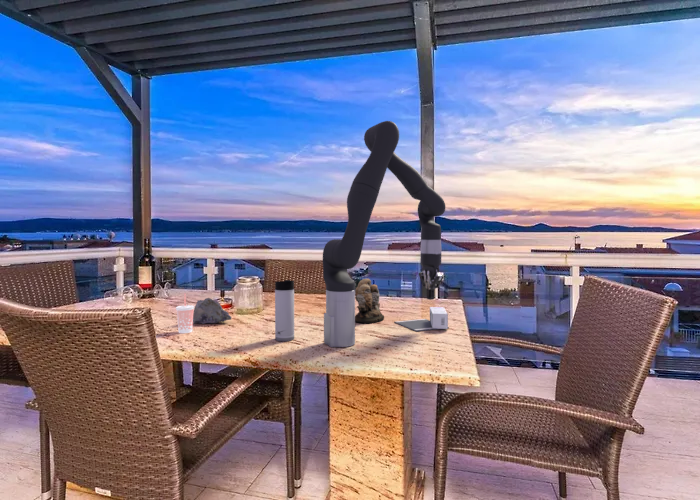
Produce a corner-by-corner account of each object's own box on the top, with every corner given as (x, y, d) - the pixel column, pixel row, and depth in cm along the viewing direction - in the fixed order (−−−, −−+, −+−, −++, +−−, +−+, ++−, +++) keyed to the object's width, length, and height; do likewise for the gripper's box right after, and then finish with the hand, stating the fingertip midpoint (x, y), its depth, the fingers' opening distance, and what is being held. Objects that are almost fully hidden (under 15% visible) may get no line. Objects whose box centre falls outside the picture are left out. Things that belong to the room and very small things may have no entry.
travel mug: (278, 342, 132) (278, 280, 131) (272, 338, 138) (272, 278, 137) (297, 340, 135) (297, 279, 134) (290, 336, 141) (290, 277, 140)
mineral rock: (233, 323, 160) (232, 297, 160) (209, 328, 152) (209, 301, 151) (212, 319, 168) (212, 294, 168) (189, 323, 159) (188, 298, 159)
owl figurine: (375, 326, 157) (375, 281, 156) (346, 323, 161) (346, 280, 160) (388, 316, 174) (388, 276, 173) (362, 314, 178) (361, 275, 177)
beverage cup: (197, 331, 147) (197, 292, 146) (180, 334, 142) (180, 294, 142) (189, 328, 151) (189, 290, 150) (173, 331, 146) (172, 292, 146)
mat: (416, 331, 147) (416, 330, 147) (394, 322, 162) (394, 321, 162) (448, 328, 153) (448, 326, 153) (424, 319, 167) (424, 318, 167)
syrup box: (448, 313, 148) (444, 307, 163) (431, 313, 149) (429, 306, 164) (447, 329, 149) (444, 321, 163) (431, 328, 149) (429, 320, 164)
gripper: (412, 251, 155) (412, 297, 156) (432, 253, 143) (432, 302, 144) (429, 251, 158) (428, 296, 159) (450, 252, 146) (449, 301, 147)
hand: (430, 299), depth 151 cm, fingers closed
